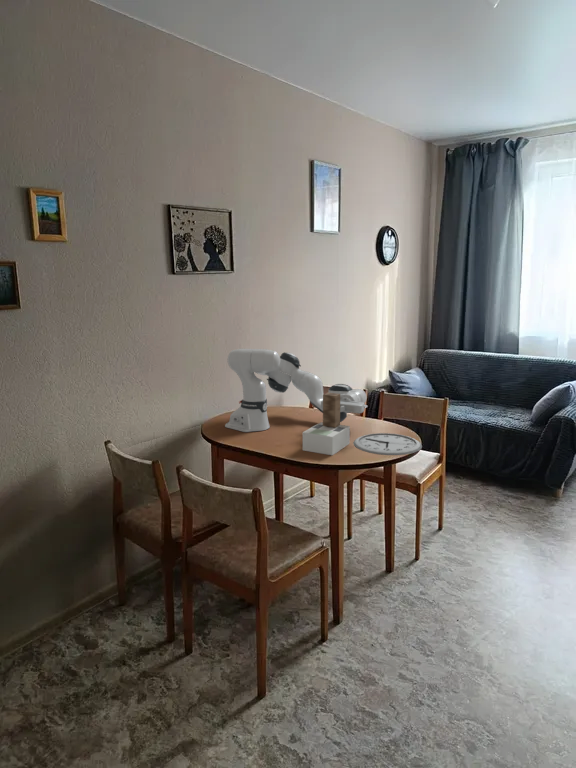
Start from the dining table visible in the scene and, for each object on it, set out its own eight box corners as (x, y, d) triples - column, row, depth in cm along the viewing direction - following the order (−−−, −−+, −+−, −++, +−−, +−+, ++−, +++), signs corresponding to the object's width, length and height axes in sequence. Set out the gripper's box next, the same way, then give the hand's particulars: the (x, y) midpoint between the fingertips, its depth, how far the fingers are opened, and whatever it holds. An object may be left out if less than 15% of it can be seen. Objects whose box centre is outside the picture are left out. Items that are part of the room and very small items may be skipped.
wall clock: (436, 447, 227) (374, 456, 217) (436, 451, 227) (374, 460, 217) (398, 428, 254) (341, 436, 244) (398, 432, 255) (341, 439, 244)
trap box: (302, 450, 229) (302, 432, 227) (321, 439, 244) (321, 421, 242) (332, 455, 222) (332, 436, 220) (349, 443, 237) (349, 425, 235)
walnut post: (322, 425, 235) (322, 394, 232) (327, 423, 239) (327, 392, 236) (335, 427, 232) (335, 396, 229) (340, 424, 236) (340, 393, 233)
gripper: (369, 412, 244) (357, 419, 232) (328, 407, 254) (315, 413, 242) (369, 398, 243) (357, 405, 231) (328, 394, 253) (315, 400, 241)
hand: (335, 409), depth 237 cm, fingers closed
